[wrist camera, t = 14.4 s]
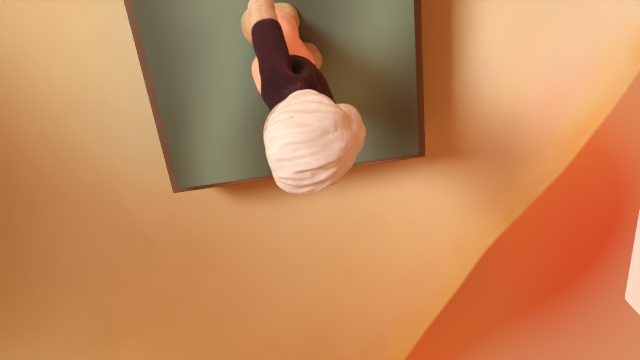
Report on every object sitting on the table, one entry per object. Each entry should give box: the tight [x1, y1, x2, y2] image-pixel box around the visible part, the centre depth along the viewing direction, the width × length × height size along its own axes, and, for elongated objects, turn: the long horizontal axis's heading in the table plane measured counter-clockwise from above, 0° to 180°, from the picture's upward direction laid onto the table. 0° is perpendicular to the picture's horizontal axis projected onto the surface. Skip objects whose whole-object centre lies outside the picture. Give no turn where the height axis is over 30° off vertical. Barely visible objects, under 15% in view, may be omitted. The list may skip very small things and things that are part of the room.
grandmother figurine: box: [241, 0, 366, 194], centre depth 23 cm, size 8×4×13 cm, turn 37°
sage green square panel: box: [124, 0, 425, 193], centre depth 30 cm, size 14×14×4 cm
